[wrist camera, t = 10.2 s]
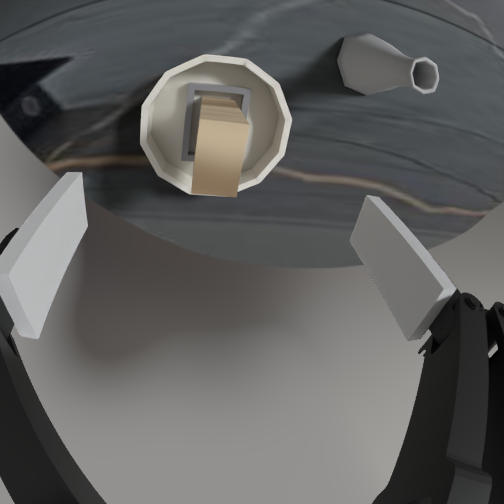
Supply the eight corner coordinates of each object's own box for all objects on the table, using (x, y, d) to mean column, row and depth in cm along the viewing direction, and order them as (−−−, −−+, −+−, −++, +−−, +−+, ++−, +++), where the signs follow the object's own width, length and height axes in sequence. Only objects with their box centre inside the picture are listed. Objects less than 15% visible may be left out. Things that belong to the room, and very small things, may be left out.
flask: (335, 93, 27) (385, 114, 19) (335, 28, 23) (388, 24, 15) (393, 97, 28) (451, 122, 20) (395, 38, 23) (457, 44, 15)
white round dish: (153, 52, 22) (146, 52, 20) (292, 67, 25) (302, 69, 22) (145, 177, 30) (139, 191, 27) (267, 185, 33) (274, 200, 30)
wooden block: (202, 96, 25) (199, 118, 16) (234, 99, 26) (249, 124, 17) (195, 145, 28) (191, 193, 19) (225, 148, 29) (236, 197, 20)
